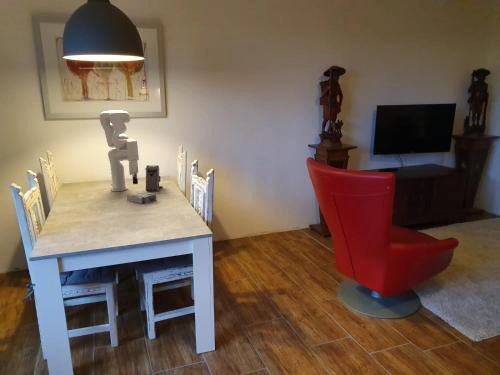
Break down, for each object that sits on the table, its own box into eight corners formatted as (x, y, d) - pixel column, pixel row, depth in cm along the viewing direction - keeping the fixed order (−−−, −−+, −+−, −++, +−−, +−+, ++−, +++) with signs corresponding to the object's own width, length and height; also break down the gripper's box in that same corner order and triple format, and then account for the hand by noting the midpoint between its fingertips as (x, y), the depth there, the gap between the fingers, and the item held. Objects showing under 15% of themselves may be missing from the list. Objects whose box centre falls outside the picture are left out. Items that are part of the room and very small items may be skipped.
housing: (133, 201, 260) (133, 193, 258) (145, 197, 268) (144, 190, 266) (145, 204, 252) (145, 196, 251) (157, 200, 260) (156, 193, 259)
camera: (164, 191, 298) (164, 166, 298) (157, 191, 281) (157, 165, 281) (151, 191, 299) (151, 166, 299) (143, 191, 282) (143, 165, 282)
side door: (126, 199, 262) (126, 193, 261) (128, 199, 263) (127, 193, 262) (142, 204, 252) (142, 197, 251) (144, 203, 253) (143, 197, 252)
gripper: (129, 156, 266) (131, 182, 270) (125, 160, 252) (128, 186, 256) (140, 156, 267) (142, 181, 271) (137, 159, 253) (139, 185, 257)
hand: (135, 183), depth 264 cm, fingers closed
